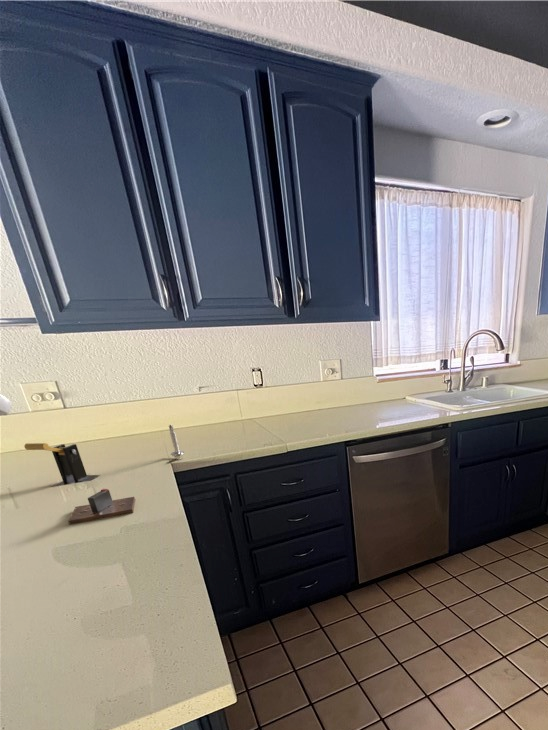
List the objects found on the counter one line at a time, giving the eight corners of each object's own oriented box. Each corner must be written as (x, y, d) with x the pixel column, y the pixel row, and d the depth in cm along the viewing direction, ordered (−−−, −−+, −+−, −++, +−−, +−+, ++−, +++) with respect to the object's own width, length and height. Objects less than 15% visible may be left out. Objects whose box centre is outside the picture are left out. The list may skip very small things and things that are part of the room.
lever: (43, 450, 124) (43, 441, 124) (24, 450, 124) (24, 442, 124) (77, 455, 136) (77, 448, 136) (60, 456, 136) (60, 448, 136)
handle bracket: (77, 490, 134) (63, 451, 129) (51, 490, 135) (35, 451, 129) (101, 478, 144) (89, 441, 138) (77, 478, 145) (63, 441, 139)
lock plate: (72, 531, 106) (67, 520, 105) (79, 516, 115) (75, 506, 113) (135, 519, 112) (131, 508, 110) (137, 506, 120) (134, 495, 119)
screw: (168, 460, 160) (178, 456, 164) (179, 460, 159) (188, 457, 163) (160, 425, 155) (169, 422, 159) (170, 426, 154) (180, 423, 158)
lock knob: (98, 512, 109) (92, 497, 107) (92, 512, 109) (86, 497, 107) (113, 503, 114) (108, 488, 113) (107, 503, 115) (103, 488, 113)
